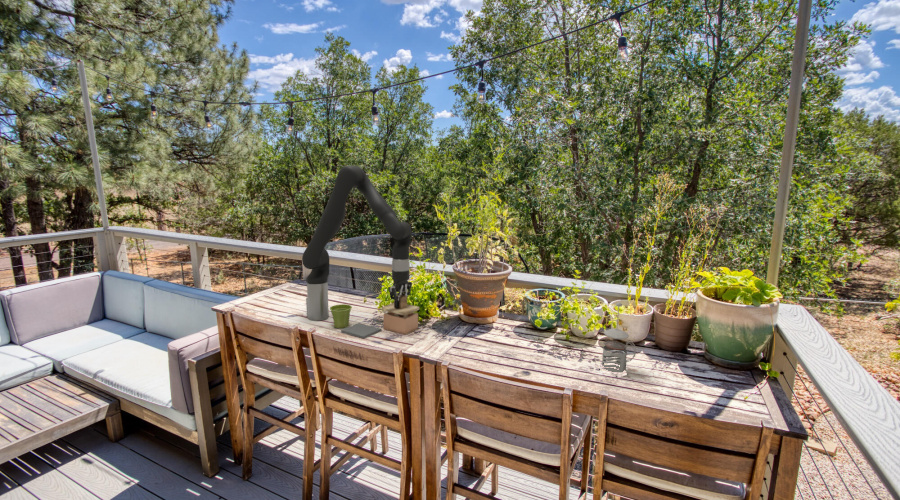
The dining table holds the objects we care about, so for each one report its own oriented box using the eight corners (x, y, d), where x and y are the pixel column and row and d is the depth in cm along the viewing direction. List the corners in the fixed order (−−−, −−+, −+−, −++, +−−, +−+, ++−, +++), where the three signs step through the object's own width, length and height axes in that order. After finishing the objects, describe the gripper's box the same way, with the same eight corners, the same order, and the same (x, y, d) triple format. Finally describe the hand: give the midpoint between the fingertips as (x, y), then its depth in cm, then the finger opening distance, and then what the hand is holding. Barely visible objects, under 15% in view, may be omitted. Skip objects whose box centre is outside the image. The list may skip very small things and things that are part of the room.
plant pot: (339, 331, 180) (339, 312, 178) (326, 326, 185) (325, 307, 184) (356, 325, 187) (356, 307, 186) (343, 321, 193) (342, 303, 191)
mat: (341, 332, 179) (341, 330, 179) (359, 325, 188) (359, 322, 188) (363, 338, 172) (363, 336, 172) (381, 330, 181) (381, 328, 181)
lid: (381, 309, 182) (381, 296, 181) (396, 304, 190) (396, 291, 189) (405, 315, 175) (405, 301, 174) (419, 309, 183) (419, 295, 182)
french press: (604, 362, 154) (609, 296, 150) (637, 372, 147) (644, 303, 142) (594, 371, 146) (599, 302, 142) (628, 382, 139) (635, 309, 135)
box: (383, 329, 183) (383, 313, 182) (396, 323, 191) (396, 308, 190) (405, 334, 177) (405, 319, 176) (417, 328, 185) (417, 313, 184)
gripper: (403, 264, 187) (403, 301, 190) (383, 270, 175) (383, 309, 178) (417, 267, 183) (417, 304, 186) (397, 272, 172) (397, 313, 174)
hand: (400, 306), depth 182 cm, fingers closed on lid, 4 cm apart
